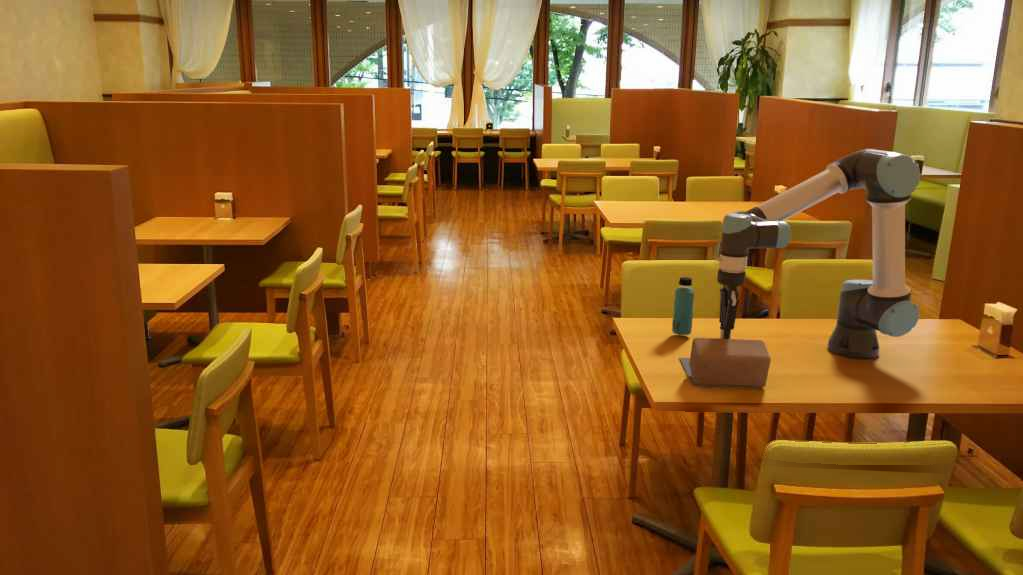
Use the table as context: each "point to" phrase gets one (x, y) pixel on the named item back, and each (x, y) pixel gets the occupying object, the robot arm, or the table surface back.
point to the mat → (687, 369)
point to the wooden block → (729, 362)
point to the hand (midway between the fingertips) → (723, 349)
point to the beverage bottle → (683, 308)
